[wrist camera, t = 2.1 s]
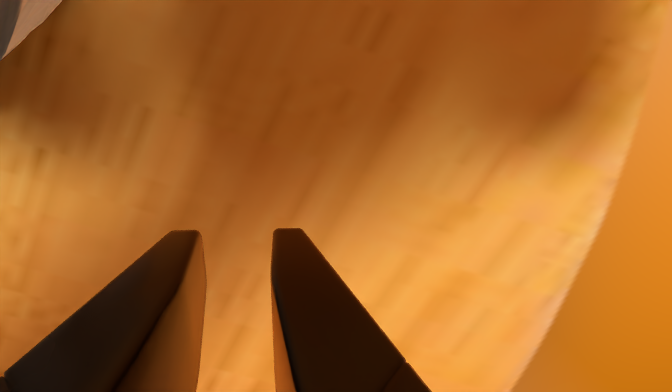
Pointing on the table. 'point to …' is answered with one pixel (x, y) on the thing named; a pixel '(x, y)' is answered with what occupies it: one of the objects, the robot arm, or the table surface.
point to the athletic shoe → (21, 20)
